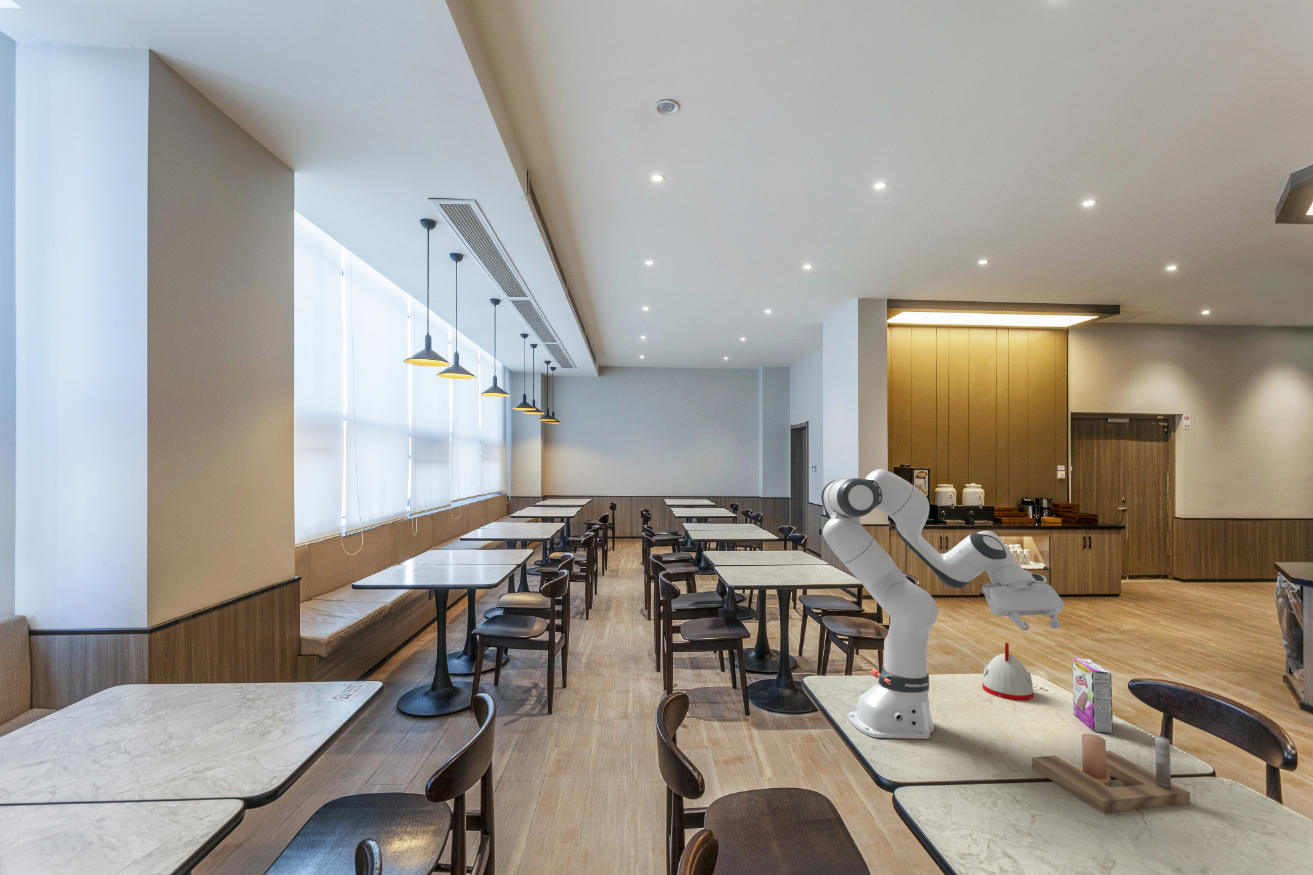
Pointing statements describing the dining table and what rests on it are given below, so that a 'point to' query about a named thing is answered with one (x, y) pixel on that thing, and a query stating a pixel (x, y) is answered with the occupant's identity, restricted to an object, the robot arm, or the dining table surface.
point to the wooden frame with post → (1141, 782)
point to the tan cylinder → (1094, 758)
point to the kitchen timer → (1007, 678)
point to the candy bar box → (1092, 695)
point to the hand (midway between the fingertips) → (1041, 628)
